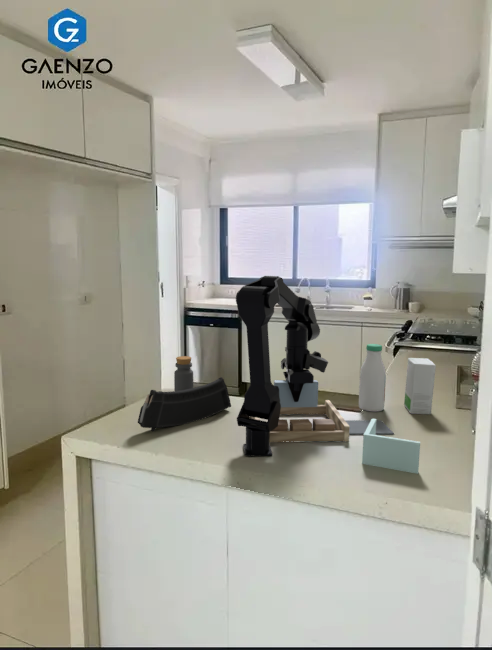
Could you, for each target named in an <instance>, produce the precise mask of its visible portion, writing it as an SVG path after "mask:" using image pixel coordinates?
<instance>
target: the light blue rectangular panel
mask: <svg viewBox="0 0 492 650" xmlns="http://www.w3.org/2000/svg"><path fill="white" fill-rule="evenodd" d="M273 385H274V386H278V388H279V397H280V404H281V407H318V405H319V382H318V380H316V379H314V381H313V383H305V384H304V385H303V388H302V391H301V394H300V397H299V401H298V402H294V400H293V397H292V394H291V391H290V388H289V385H288V382H287V380H286V379H281V380H280V379H279V380H278V379H275V380H273Z"/></svg>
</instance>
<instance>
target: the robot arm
mask: <svg viewBox="0 0 492 650" xmlns="http://www.w3.org/2000/svg"><path fill="white" fill-rule="evenodd" d="M235 302H236V303H235V304H236V307H237V313H238V316H239V318H240V319H241V320H242V322H243V323H244V325H245V328H246V339H247V351H248V352H247V353H248V368H249V369H248V371H249V386H248V388H247V390H246V391H245V393H244V397H243V398H244V399H243V403H242V405H241V408H240V409H239V412H238V415H237V417H236V422H237V427H243V428H244V427H245V443H243V445H242V446H243V447H242V448H243V452H244V456H245V457H272V456H273V450H272V447H271V444H270V443H271V442H270V432H271V431H272V430H273V429H275V428H276V427H278V422H279V419H280V416H281V415H280V410H281V404H280V397H279V388H278V386H274V383H272V380H271V379H272V378H271V362H270V361H271V359H270V344H269V342H270V341H269V340H270V339H269V322H270V320H271V318H272V316H273V315H274V313H275V306H276V305H278V306H279V307H280V308H281V309H282V310H281V314H282V315H283V316H284V318H285V319H286V320H287V321H288V323H287V324H286V325H285V327H284V331H286V346H285V347H284V350H285V353H286V354H285V357H284V358H283V359H281V361H280V369H282V370H285V369H286V370H285V371H283V372H282V373H283V375H284V376H283V377H284V378H285V379H284V380H287V382H288V385H289V388H290V391H291V394H292V397H293V400H294V402H298V401H299V397H300V394H301V391H302V388H303V385H304V384H305V383H313V381H314V380H315V379H314V377H315V376H314V374H313V373H312V372H311V371H310V369H311V368H312V369H315V370H317V371H319V372H321V373H323V374H324V373H325V372H326V368H327V366H328V364H329V361H328V360H327V359H325V358H324V357H322V353H320V352H319V351H315V350H314V351H313V352H312V353H310V352H311V351H310V350H309V349H308V342H310V341H312V340H315V339H318V337H319V336H320V333H321V328H320V325H319V324H318V323H317V316H316V313H315V308H314V305H313V304H312V302H311V300H309V299H308V298H306V297H302V296H298V295H297V294H296V293H295V292H294V291H293V290H292V289H291V288H290V287H289V286H288V285H287V284H286V283H285V282H284V279H283V277H280V275H264V276H261V277H259V279H257V280H255V281H251V282H249V283H246V284H245V285H243V286H242V287H240V289H239V290H238V291H237V293H236V295H235ZM252 417H256V418H260V420H256V419H252ZM265 420H266V421H265Z"/></svg>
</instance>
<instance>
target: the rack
mask: <svg viewBox="0 0 492 650" xmlns="http://www.w3.org/2000/svg"><path fill="white" fill-rule="evenodd" d="M280 414H306V415H327V416H326V417H327V419H328V418H329V419H332V421H333V422H334V423H335V430H334V431H289V430H288V431H271V432H270V443H287V442H286V441H289V442H288V443H295V442H294V441H343V442H344V441H345V442H346V441H348V442H350V435H349V429H350V426H349V425H348V424H347V422H346V421H345V418H344V417H343V416H342V415H341V413H340V412H339V411H338V409H337V408H336V407H335V405H334V404H333V403H332V402H331V400H329V399H325V401H324V404H318V407H281V410H280ZM251 419H256V420H261V418H256V417H251ZM283 441H284V442H283ZM291 441H293V442H291Z"/></svg>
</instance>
